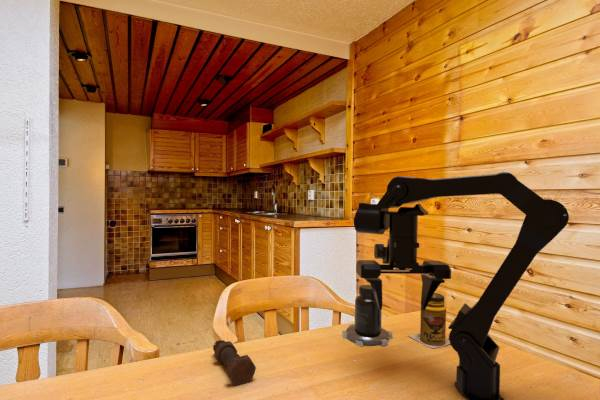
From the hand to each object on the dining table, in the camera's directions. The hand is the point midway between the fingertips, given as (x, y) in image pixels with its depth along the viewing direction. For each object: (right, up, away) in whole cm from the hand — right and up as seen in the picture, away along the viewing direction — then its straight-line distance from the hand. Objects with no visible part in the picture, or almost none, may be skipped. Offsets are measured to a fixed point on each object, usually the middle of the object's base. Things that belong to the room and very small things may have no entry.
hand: (401, 309), depth 76 cm
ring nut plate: (-4, -13, +18) cm, 22 cm away
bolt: (-36, -13, 0) cm, 38 cm away
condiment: (+12, -13, +17) cm, 25 cm away
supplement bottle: (-4, -12, +18) cm, 22 cm away
